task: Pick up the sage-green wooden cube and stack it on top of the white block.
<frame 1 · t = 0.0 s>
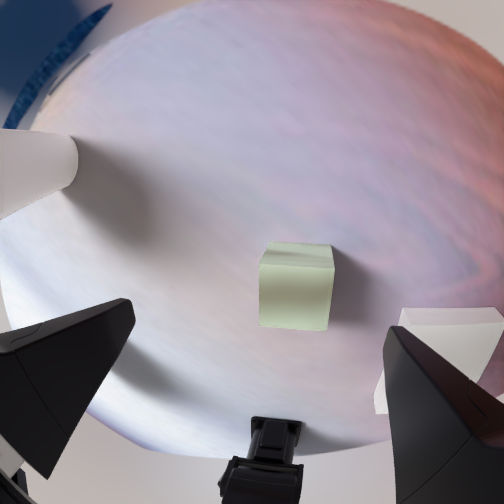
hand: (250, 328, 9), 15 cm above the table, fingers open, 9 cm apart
foam cup: (62, 161, 25), on the table
white block: (435, 355, 23), on the table
sage cube: (298, 270, 24), on the table
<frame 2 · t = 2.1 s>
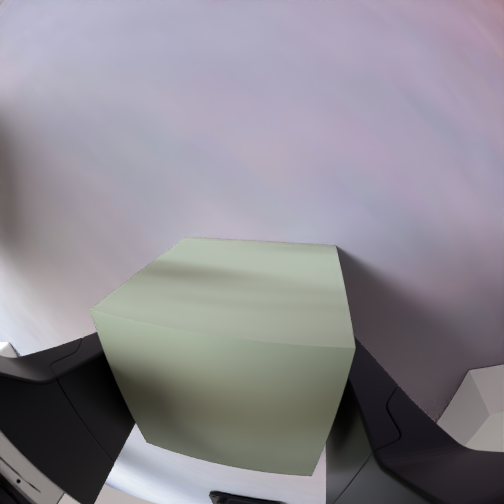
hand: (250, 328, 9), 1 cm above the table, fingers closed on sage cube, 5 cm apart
white block: (492, 424, 10), on the table
ink cartridge box: (11, 358, 19), on the table
sage cube: (257, 308, 10), on the table, touching gripper
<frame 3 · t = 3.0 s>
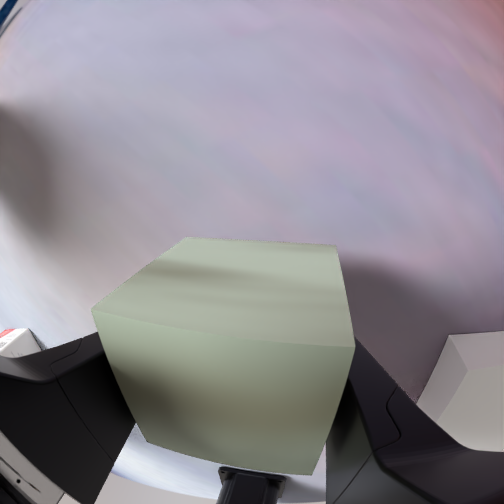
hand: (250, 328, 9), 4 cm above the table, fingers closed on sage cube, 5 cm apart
white block: (480, 396, 13), on the table
ink cartridge box: (27, 345, 22), on the table
sage cube: (257, 307, 10), point 3 cm above the table, touching gripper
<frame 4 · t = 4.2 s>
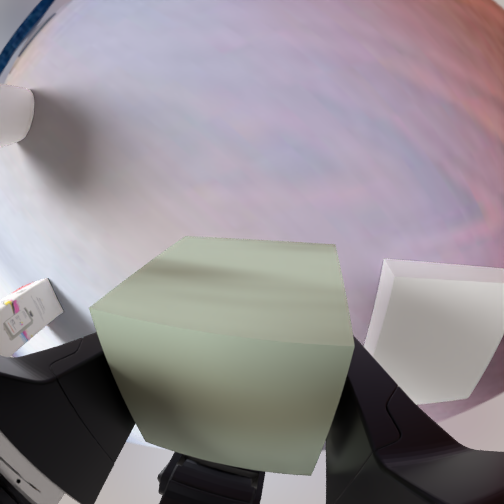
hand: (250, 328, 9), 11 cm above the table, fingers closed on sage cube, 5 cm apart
foam cup: (22, 114, 20), on the table
white block: (432, 331, 19), on the table
ink cartridge box: (43, 297, 28), on the table
sage cube: (256, 307, 10), point 10 cm above the table, touching gripper
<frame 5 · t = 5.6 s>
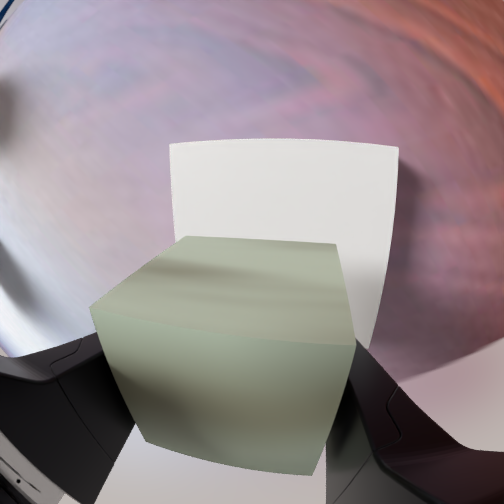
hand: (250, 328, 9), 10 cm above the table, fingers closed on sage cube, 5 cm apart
white block: (284, 237, 18), on the table
sage cube: (257, 306, 10), point 9 cm above the table, touching gripper
when the fingers open (6 cm above the table, at t = 6.6 s): sage cube drops 2 cm, resting on white block.
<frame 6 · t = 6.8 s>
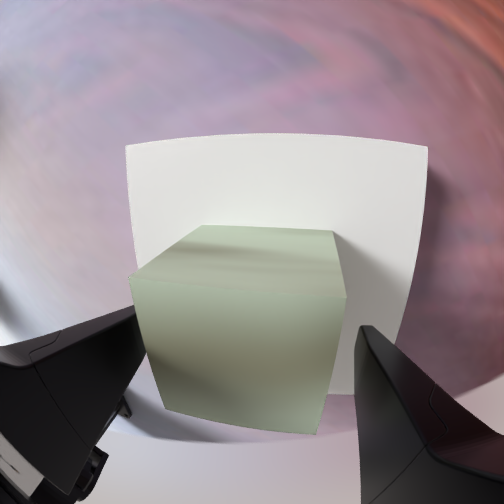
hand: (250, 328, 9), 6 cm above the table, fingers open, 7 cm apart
white block: (275, 261, 14), on the table
sage cube: (264, 287, 11), point 3 cm above the table, touching white block
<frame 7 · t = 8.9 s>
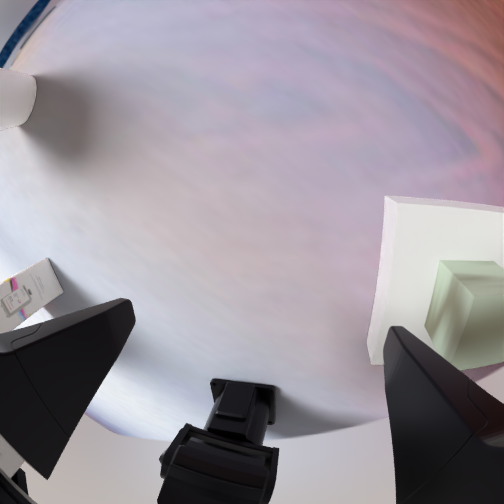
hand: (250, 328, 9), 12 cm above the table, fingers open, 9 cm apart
foam cup: (24, 100, 20), on the table
white block: (445, 277, 18), on the table
ink cartridge box: (43, 280, 28), on the table
sage cube: (460, 294, 15), point 3 cm above the table, touching white block
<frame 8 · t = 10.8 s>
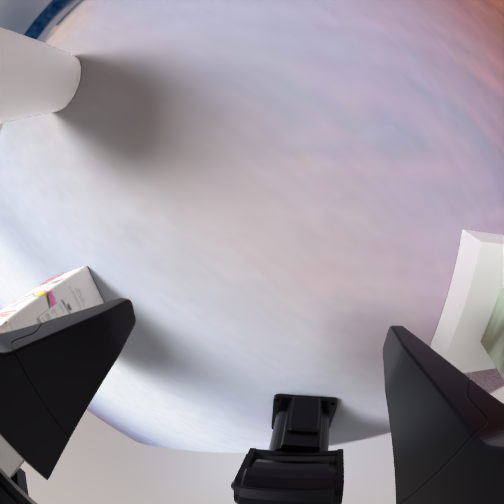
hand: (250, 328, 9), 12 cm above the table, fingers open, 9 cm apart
foam cup: (62, 83, 19), on the table
white block: (494, 299, 18), on the table
ink cartridge box: (77, 290, 27), on the table
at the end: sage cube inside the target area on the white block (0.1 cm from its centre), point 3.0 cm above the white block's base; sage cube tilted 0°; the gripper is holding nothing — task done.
